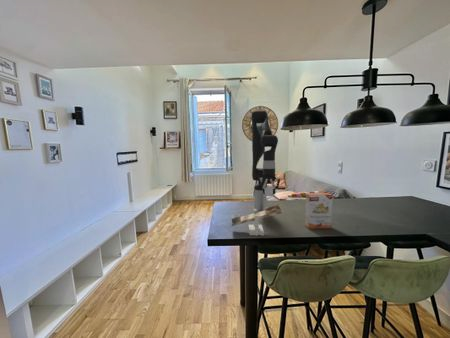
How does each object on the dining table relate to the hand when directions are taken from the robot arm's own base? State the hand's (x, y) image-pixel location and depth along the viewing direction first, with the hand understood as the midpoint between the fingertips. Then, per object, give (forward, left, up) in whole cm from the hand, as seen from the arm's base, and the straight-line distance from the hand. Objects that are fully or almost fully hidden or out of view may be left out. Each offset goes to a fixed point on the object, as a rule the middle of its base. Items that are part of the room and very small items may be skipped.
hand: (269, 194), depth 136 cm
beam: (+14, +1, -11) cm, 18 cm away
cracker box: (-17, +24, -20) cm, 35 cm away
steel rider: (0, 0, 0) cm, 0 cm away
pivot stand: (+14, +1, -20) cm, 24 cm away
